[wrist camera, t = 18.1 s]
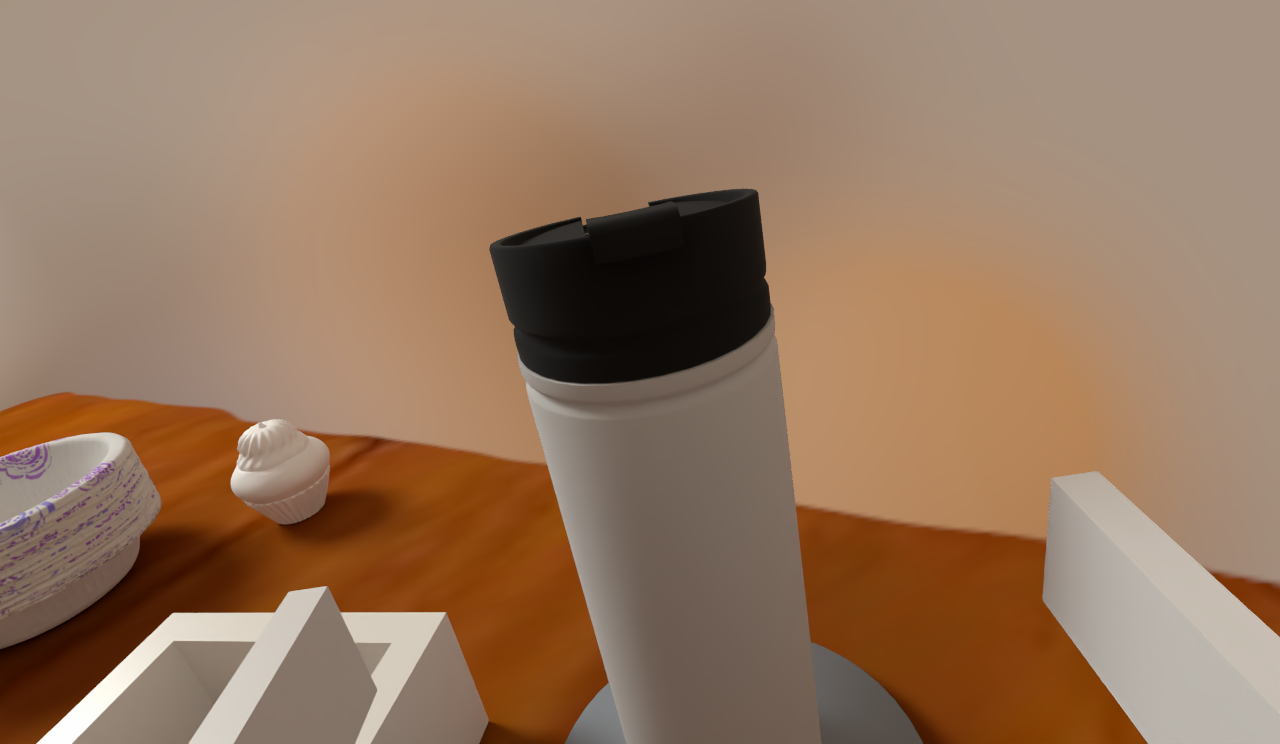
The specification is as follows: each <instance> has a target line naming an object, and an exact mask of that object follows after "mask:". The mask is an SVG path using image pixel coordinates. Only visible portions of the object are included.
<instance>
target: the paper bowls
mask: <svg viewBox="0 0 1280 744" xmlns="http://www.w3.org/2000/svg"><path fill="white" fill-rule="evenodd" d="M160 509H161V498H160V494H159V493H158V491H157V490H156V489H155V485H154V483H153V482H152V480H151V479H150V477H149V476H148V472H147V470H146V469H145V468H144V466H143V465H142V463H141V462H140V458H139V457H138V455H137V454H136V452H135V450H134V449H133V447H132V446H131V443H130V441H129V440H128V439H127V438H125V437H123V436H121V435H118V434H114V433H93V434H84V435H78V436H73V437H67V438H63V439H59V440H54V441H51V442H47V443H43V444H40V445H36V446H34V447H30V448H26V449H23V450H21V451H17V452H14V453H11V454H8V455H6V456H3V457H0V649H2V648H6V647H9V646H11V645H14V644H17V643H20V642H23V641H25V640H28V639H30V638H33V637H35V636H37V635H39V634H42V633H44V632H46V631H48V630H50V629H52V628H54V627H56V626H58V625H60V624H61V623H63V622H65V621H67V620H69V619H70V618H72V617H74V616H75V615H77V614H78V613H80V612H82V611H83V610H85V609H86V608H88V607H89V606H91V605H92V604H93V603H95V602H96V601H98V600H99V599H100V598H101V597H103V596H104V595H105V594H106V593H108V592H109V591H110V590H111V589H112V588H113V587H115V586H116V585H117V584H118V583H119V582H120V581H121V580H122V579H123V578H124V577H125V575H126V574H127V573H128V572H129V570H130V569H131V567H132V566H133V564H134V562H135V560H136V558H137V556H138V552H139V548H140V535H141V534H142V533H143V532H144V531H145V530H146V528H147V527H148V526H149V525H151V523H152V522H153V521H154V520H155V518H156V516H157V514H158V513H159V511H160Z"/></svg>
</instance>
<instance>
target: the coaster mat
mask: <svg viewBox="0 0 1280 744" xmlns="http://www.w3.org/2000/svg"><path fill="white" fill-rule="evenodd" d="M810 643H811V652H812V661H813V670H814V679H815V688H816V697H817V706H818V715H819V724H820V734H821V742H822V744H923V742H922V740H921V738H920V737H919V735H918V733H917V731H916V730H915V728H914V726H913V725H912V723H911V721H910V719H909V718H908V717H907V715H906V714H905V713H904V711H903V710H902V709H901V707H900V706H899V705H898V703H897V702H896V701H895V699H894V698H893V697H892V696H891V695H890V694H889V693H888V692H887V691H886V690H885V689H884V688H883V687H882V686H881V685H880V684H879V683H878V682H877V681H876V680H874V679H873V678H872V677H871V676H869V675H868V674H867V673H866V672H865V671H863V670H862V669H861V668H859V667H858V666H856V665H855V664H853V663H852V662H850V661H849V660H847V659H846V658H844V657H842V656H840V655H838V654H836V653H834V652H832V651H830V650H828V649H826V648H825V647H822V646H820V645H817V644H814V643H812V642H810ZM565 744H626V741H625V737H624V733H623V730H622V726H621V723H620V719H619V716H618V712H617V709H616V705H615V702H614V698H613V695H612V691H611V687H610V684H609V683H608V684H607V685H606V686H605V687H604V688H603V689H602V690H601V691H600V692H599V693H598V694H597V695H596V696H595V698H594V699H593V700H592V701H591V702H590V703H589V705H588V706H587V707H586V708H585V710H584V711H583V713H582V714H581V716H580V717H579V719H578V720H577V722H576V723H575V725H574V727H573V728H572V730H571V732H570V734H569V736H568V738H567V740H566V742H565Z"/></svg>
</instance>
